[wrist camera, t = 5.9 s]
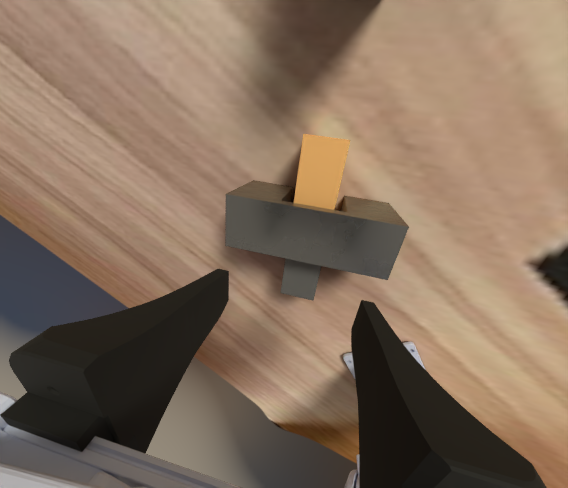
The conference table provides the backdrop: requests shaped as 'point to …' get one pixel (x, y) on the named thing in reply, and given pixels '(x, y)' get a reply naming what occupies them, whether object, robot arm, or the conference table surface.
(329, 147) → the orange and grey bar
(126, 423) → the robot arm
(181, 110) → the conference table surface
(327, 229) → the grey rectangular block
